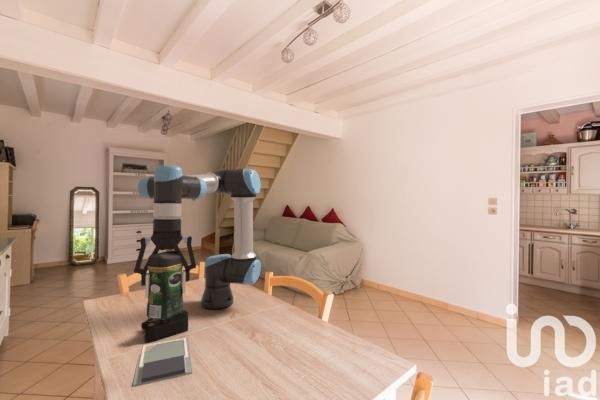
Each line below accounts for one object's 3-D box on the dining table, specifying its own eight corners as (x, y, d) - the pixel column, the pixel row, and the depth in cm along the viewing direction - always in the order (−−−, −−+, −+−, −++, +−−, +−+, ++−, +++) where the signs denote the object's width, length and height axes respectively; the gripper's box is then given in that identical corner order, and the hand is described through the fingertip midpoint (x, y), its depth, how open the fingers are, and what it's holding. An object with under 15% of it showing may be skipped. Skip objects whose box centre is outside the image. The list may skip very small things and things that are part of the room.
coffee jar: (167, 307, 88) (169, 248, 88) (187, 310, 85) (189, 250, 85) (140, 318, 79) (142, 253, 79) (161, 323, 76) (163, 255, 76)
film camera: (172, 323, 115) (172, 299, 115) (193, 329, 109) (193, 304, 109) (128, 342, 99) (129, 314, 99) (151, 350, 93) (151, 321, 93)
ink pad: (185, 358, 88) (185, 354, 88) (186, 372, 80) (186, 368, 80) (142, 367, 83) (142, 363, 83) (139, 383, 75) (139, 379, 75)
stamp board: (187, 339, 101) (187, 337, 101) (192, 373, 81) (192, 370, 81) (140, 348, 95) (140, 345, 95) (132, 387, 75) (132, 384, 75)
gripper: (204, 217, 90) (203, 286, 90) (126, 217, 81) (124, 295, 81) (207, 218, 84) (205, 293, 83) (122, 219, 74) (120, 303, 74)
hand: (165, 294), depth 82 cm, fingers closed on coffee jar, 9 cm apart
